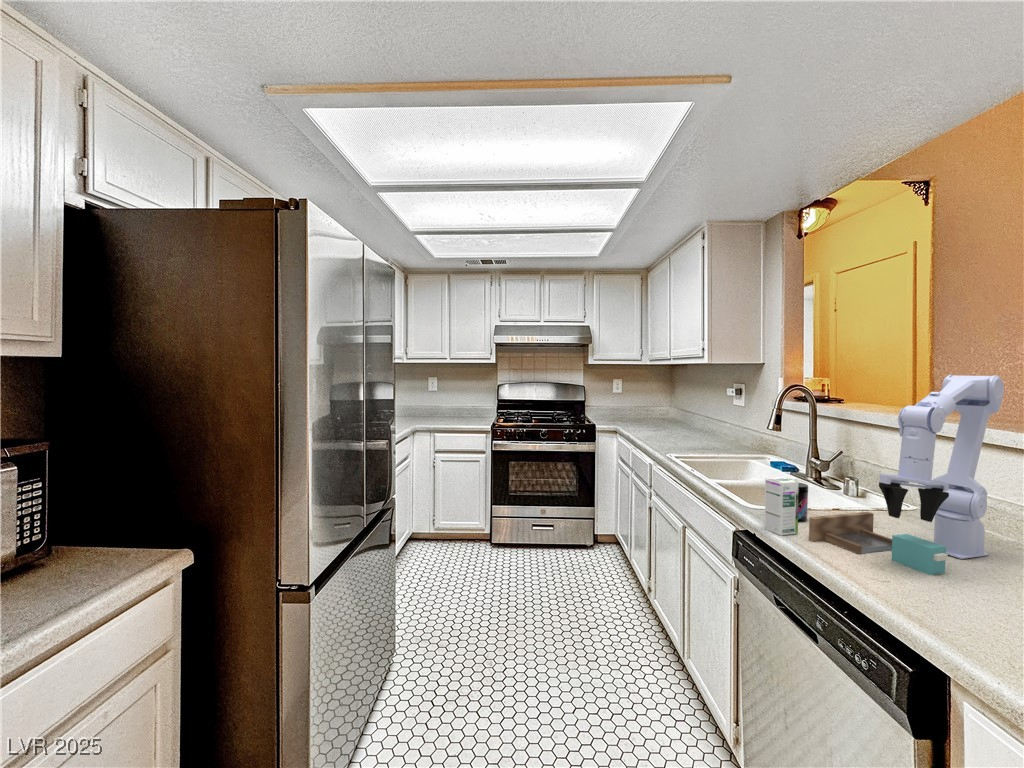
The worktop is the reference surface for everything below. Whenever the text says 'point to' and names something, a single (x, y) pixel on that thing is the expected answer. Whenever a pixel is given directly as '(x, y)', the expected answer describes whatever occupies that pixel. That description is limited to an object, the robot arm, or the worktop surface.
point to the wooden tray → (843, 529)
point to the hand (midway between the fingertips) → (910, 518)
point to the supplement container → (802, 502)
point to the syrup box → (781, 506)
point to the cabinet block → (919, 554)
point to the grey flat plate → (867, 542)
